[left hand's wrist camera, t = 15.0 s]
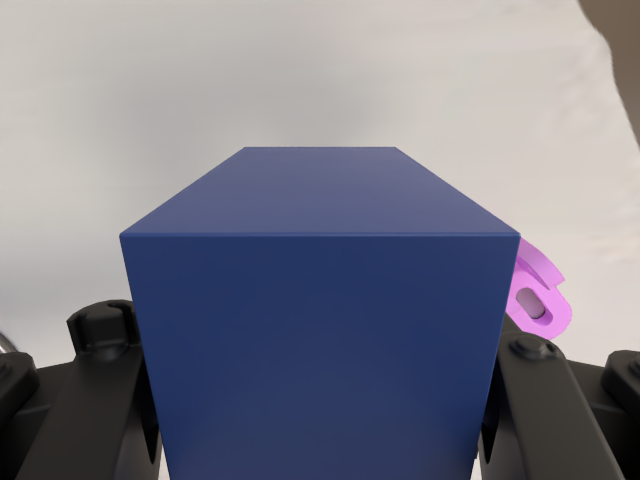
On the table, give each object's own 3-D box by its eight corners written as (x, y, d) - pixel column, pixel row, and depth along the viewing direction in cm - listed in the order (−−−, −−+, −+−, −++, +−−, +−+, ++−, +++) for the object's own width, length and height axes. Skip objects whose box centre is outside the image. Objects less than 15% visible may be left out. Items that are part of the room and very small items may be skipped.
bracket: (460, 262, 38) (489, 298, 31) (508, 227, 36) (549, 257, 30) (527, 342, 41) (565, 389, 35) (573, 313, 40) (622, 356, 33)
